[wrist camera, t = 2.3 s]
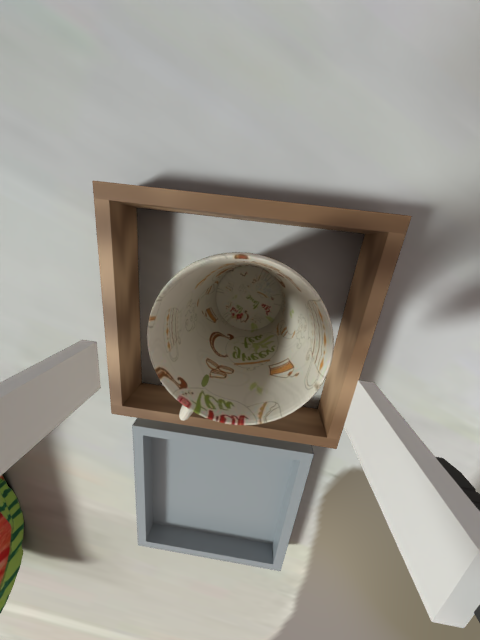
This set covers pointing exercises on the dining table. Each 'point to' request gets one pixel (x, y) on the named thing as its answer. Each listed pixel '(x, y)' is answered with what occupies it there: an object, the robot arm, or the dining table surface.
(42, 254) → the dining table surface
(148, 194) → the corral
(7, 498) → the fruit slice
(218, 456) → the tray
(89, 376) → the robot arm
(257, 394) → the mug
